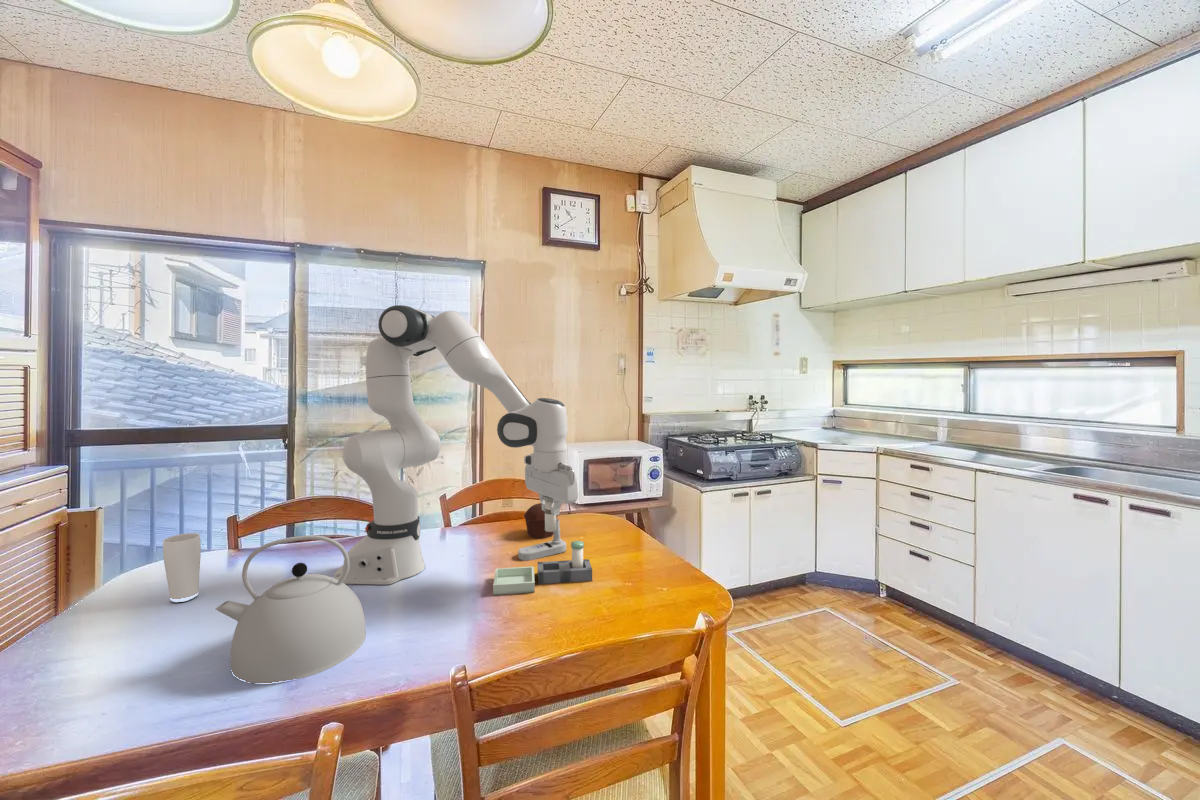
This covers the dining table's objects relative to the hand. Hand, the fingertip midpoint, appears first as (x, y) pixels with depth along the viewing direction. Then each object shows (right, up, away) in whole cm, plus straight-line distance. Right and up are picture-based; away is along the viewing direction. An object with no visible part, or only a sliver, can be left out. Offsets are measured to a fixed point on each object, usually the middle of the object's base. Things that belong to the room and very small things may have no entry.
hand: (550, 512), depth 127 cm
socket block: (+4, -18, +2) cm, 18 cm away
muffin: (-7, -16, +35) cm, 39 cm away
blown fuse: (0, -5, 0) cm, 5 cm away
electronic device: (-4, -17, +18) cm, 25 cm away
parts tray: (-9, -18, -3) cm, 20 cm away
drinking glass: (-87, -18, -11) cm, 89 cm away
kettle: (-47, -20, -32) cm, 60 cm away
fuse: (+7, -17, +2) cm, 19 cm away
